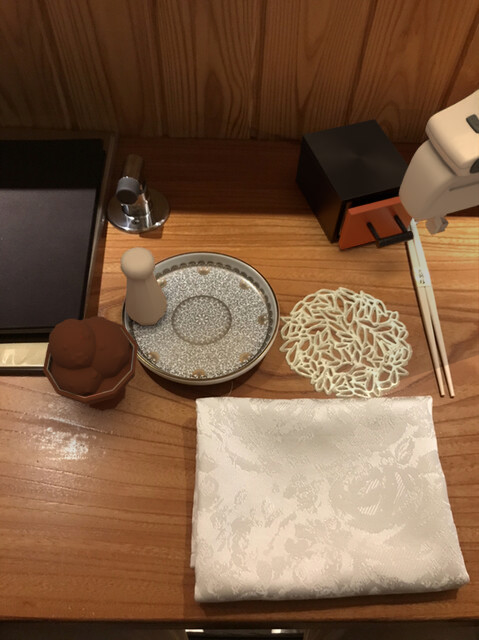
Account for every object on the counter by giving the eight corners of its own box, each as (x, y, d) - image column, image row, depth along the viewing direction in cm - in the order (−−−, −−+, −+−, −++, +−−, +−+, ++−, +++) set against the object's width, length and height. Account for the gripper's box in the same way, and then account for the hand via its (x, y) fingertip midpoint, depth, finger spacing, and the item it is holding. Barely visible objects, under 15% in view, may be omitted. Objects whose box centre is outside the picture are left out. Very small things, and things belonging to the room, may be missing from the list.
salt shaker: (176, 308, 81) (169, 251, 70) (153, 337, 78) (142, 283, 67) (143, 291, 82) (131, 232, 71) (119, 319, 80) (103, 262, 69)
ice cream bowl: (89, 447, 70) (60, 398, 57) (48, 381, 74) (13, 321, 62) (162, 401, 73) (150, 345, 60) (119, 341, 78) (99, 276, 65)
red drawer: (421, 254, 86) (437, 220, 80) (354, 273, 84) (365, 239, 78) (368, 174, 95) (379, 137, 89) (306, 189, 93) (313, 152, 86)
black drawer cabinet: (401, 225, 91) (419, 181, 83) (330, 243, 88) (342, 200, 80) (362, 164, 98) (375, 118, 90) (295, 180, 95) (302, 134, 87)
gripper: (597, 76, 55) (532, 178, 67) (413, 121, 52) (378, 220, 64) (640, 118, 52) (564, 216, 64) (447, 168, 49) (404, 263, 61)
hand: (470, 218), depth 64 cm, fingers open, 8 cm apart
